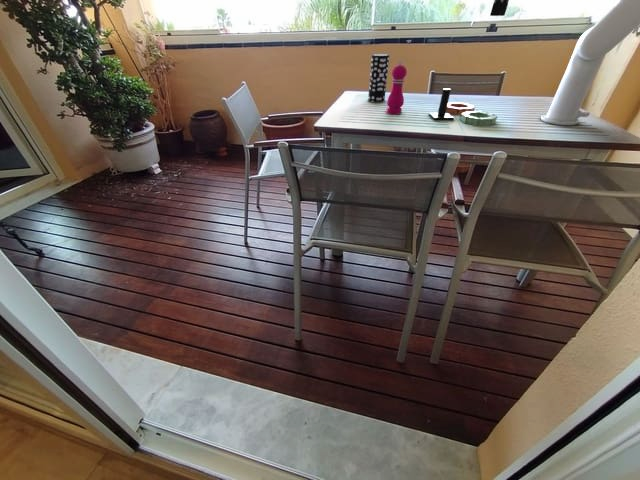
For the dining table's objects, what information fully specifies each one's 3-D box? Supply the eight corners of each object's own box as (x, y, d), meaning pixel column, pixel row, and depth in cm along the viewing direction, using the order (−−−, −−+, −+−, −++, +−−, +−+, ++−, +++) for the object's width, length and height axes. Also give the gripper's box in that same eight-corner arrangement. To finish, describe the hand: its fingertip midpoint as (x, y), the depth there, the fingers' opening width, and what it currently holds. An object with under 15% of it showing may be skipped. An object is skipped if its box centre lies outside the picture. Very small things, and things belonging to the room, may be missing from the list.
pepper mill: (382, 112, 133) (388, 61, 121) (391, 109, 137) (397, 59, 125) (396, 115, 129) (404, 62, 117) (405, 112, 133) (413, 60, 121)
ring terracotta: (465, 107, 139) (467, 102, 138) (477, 114, 129) (478, 108, 128) (439, 108, 139) (440, 102, 138) (448, 115, 129) (450, 109, 128)
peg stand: (446, 114, 129) (453, 86, 123) (453, 120, 123) (460, 90, 116) (428, 115, 129) (434, 87, 123) (434, 120, 123) (440, 91, 116)
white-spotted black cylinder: (372, 98, 157) (376, 53, 145) (387, 100, 153) (392, 54, 141) (365, 101, 152) (368, 55, 140) (379, 103, 148) (384, 56, 136)
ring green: (485, 116, 126) (487, 110, 125) (500, 125, 116) (502, 119, 115) (456, 117, 126) (458, 111, 125) (468, 125, 116) (470, 119, 115)
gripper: (523, -51, 96) (503, 16, 107) (530, -44, 107) (512, 15, 118) (498, -48, 100) (481, 15, 110) (508, -42, 111) (491, 15, 121)
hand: (497, 15), depth 114 cm, fingers open, 9 cm apart
